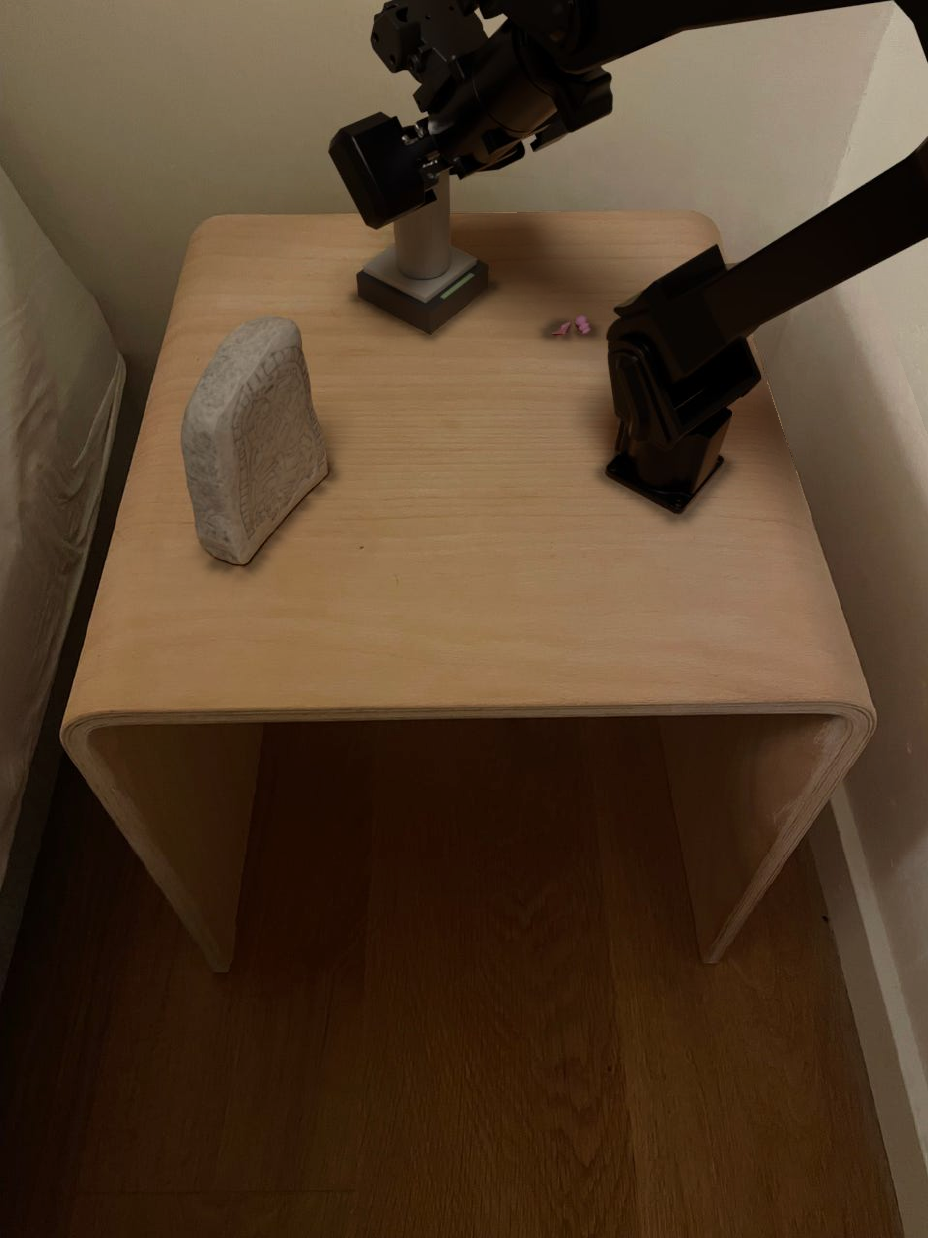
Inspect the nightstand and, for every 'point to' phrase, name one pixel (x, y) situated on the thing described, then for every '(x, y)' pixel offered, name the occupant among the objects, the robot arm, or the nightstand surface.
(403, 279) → the scale
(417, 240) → the planter
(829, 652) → the nightstand surface
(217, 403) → the decorative stone
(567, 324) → the pink seashells
